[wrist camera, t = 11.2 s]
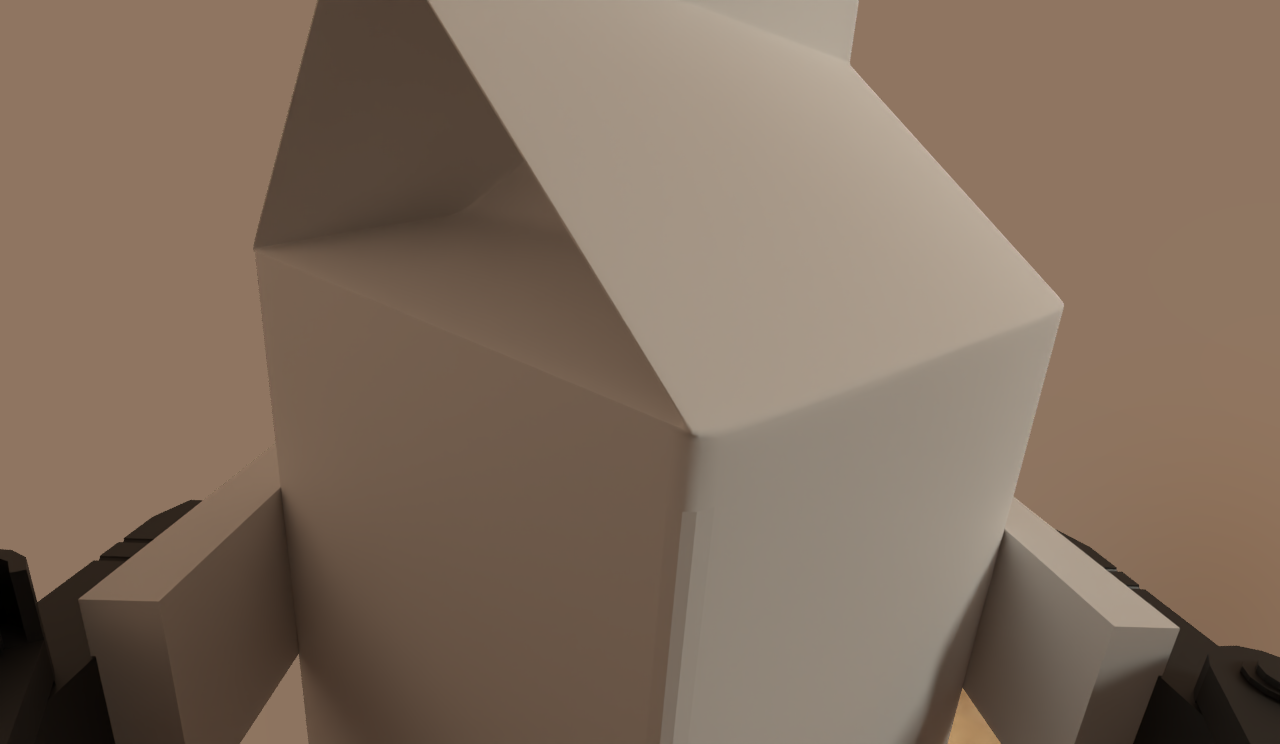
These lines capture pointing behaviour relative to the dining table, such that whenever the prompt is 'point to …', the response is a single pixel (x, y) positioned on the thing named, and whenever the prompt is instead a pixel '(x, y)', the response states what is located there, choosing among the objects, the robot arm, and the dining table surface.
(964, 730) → the dining table surface
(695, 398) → the milk carton
